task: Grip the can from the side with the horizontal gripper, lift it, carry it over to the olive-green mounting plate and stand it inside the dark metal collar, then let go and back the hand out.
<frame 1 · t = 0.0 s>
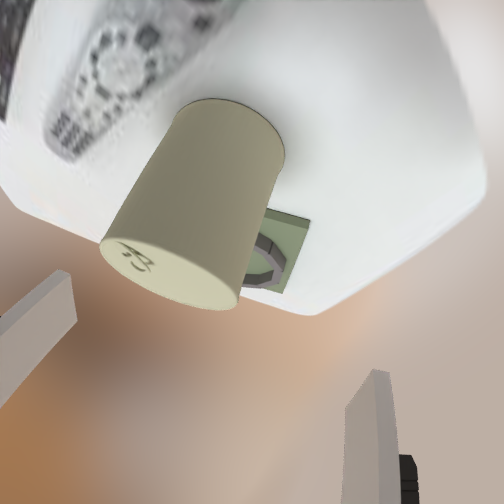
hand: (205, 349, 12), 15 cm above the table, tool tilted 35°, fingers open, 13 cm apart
deck mount: (229, 242, 38), on the table
can: (227, 144, 24), on the table
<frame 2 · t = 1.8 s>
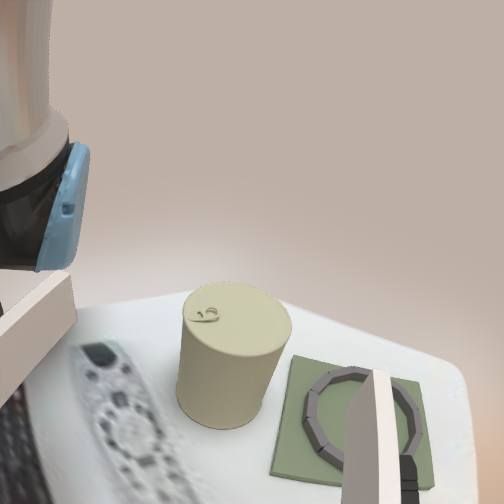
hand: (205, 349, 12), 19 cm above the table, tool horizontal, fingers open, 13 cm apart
deck mount: (359, 426, 30), on the table
can: (219, 394, 32), on the table
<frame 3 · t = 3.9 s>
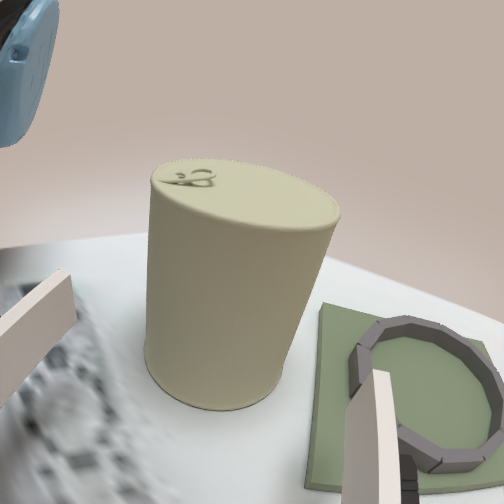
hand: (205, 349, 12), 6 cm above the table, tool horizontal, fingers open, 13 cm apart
deck mount: (426, 400, 19), on the table
can: (213, 355, 20), on the table
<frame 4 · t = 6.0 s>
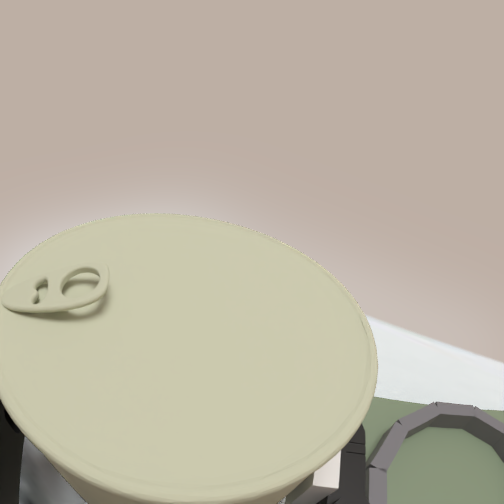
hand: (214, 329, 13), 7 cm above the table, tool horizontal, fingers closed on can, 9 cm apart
can: (173, 476, 12), on the table, touching gripper
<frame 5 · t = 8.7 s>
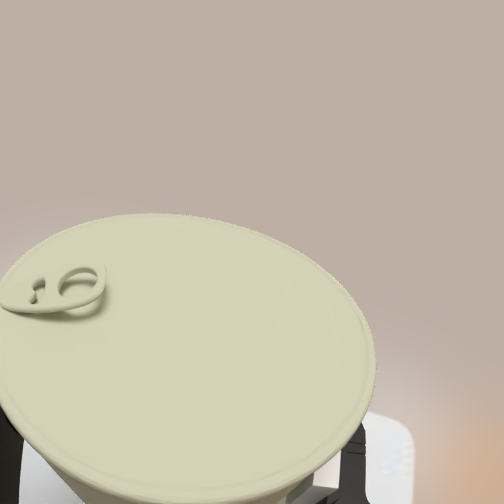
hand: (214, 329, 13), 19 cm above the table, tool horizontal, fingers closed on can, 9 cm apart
can: (172, 477, 12), point 12 cm above the table, touching gripper
when the fingers open (9 cm above the table, at t = 11.6 s): can drops 1 cm, resting on deck mount.
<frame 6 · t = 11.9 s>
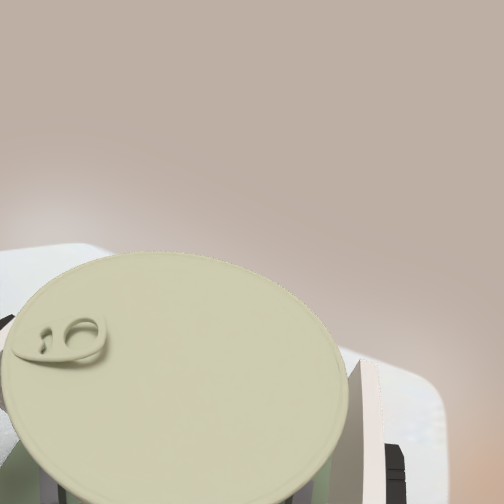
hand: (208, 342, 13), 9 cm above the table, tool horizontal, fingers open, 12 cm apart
deck mount: (173, 488, 13), on the table
can: (171, 485, 13), point 1 cm above the table, touching deck mount
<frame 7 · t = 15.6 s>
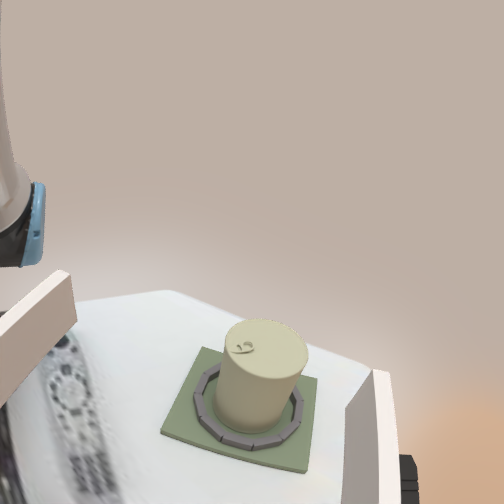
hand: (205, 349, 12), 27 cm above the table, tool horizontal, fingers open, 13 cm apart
deck mount: (246, 408, 39), on the table
can: (247, 406, 38), point 1 cm above the table, touching deck mount
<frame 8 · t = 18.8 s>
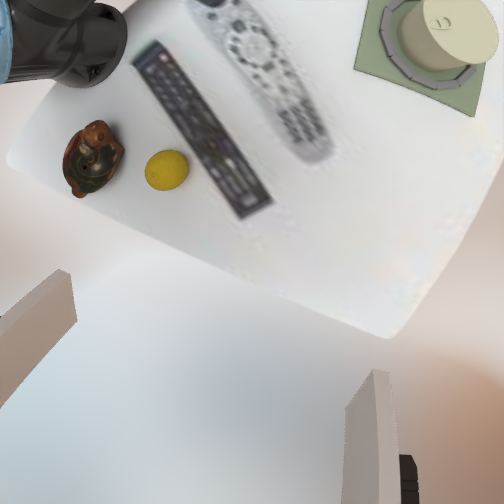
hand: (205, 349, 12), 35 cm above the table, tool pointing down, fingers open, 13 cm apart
deck mount: (427, 41, 30), on the table
decorative turtle: (104, 155, 47), on the table
can: (429, 40, 30), point 1 cm above the table, touching deck mount
lemon: (179, 164, 46), on the table
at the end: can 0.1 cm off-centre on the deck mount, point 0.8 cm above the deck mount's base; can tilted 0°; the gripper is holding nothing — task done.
